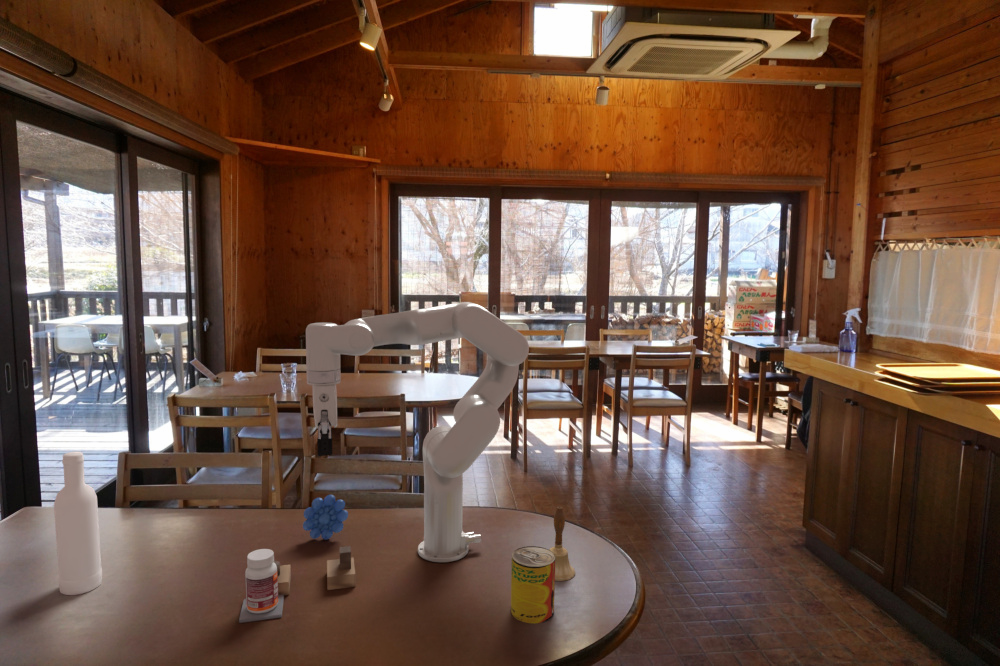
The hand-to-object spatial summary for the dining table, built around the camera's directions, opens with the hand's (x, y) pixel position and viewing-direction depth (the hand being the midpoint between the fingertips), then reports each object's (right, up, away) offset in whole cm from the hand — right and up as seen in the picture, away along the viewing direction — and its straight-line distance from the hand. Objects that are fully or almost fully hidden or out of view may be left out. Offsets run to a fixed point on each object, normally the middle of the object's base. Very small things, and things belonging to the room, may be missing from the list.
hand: (325, 448), depth 144 cm
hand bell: (+54, -29, +1) cm, 62 cm away
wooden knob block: (-2, -29, -6) cm, 30 cm away
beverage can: (+48, -31, -15) cm, 59 cm away
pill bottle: (-8, -30, -16) cm, 35 cm away
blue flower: (-4, -27, +18) cm, 32 cm away
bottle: (-51, -29, -8) cm, 59 cm away
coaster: (-8, -30, -16) cm, 35 cm away
